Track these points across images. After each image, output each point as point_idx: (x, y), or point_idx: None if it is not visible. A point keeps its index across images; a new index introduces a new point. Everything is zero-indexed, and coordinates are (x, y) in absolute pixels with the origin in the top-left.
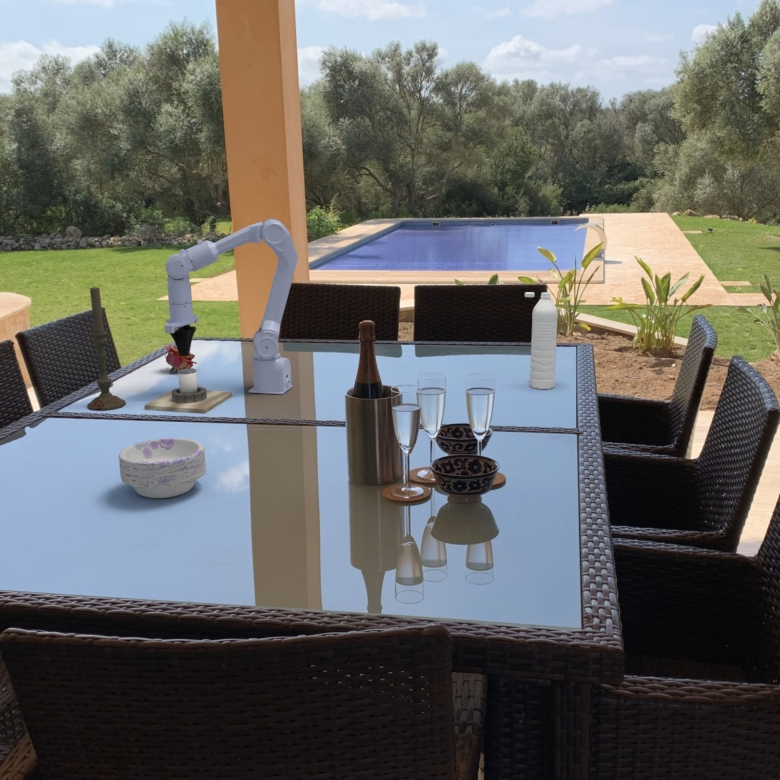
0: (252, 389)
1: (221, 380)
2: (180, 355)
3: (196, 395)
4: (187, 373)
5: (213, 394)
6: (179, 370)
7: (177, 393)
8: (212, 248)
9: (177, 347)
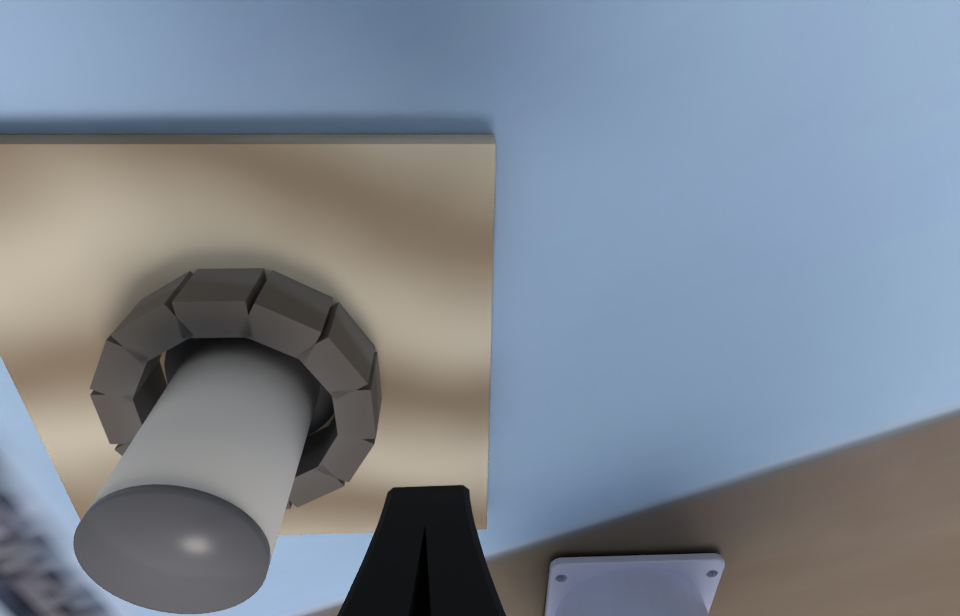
0: (585, 572)
1: (873, 319)
2: (386, 504)
3: None
4: (107, 582)
5: (399, 467)
6: (143, 501)
7: (125, 378)
8: None
9: (349, 602)
